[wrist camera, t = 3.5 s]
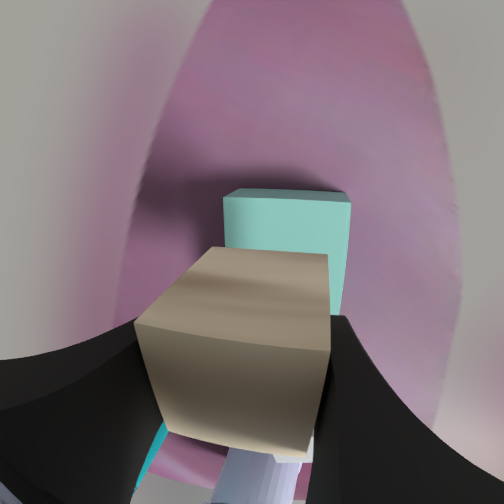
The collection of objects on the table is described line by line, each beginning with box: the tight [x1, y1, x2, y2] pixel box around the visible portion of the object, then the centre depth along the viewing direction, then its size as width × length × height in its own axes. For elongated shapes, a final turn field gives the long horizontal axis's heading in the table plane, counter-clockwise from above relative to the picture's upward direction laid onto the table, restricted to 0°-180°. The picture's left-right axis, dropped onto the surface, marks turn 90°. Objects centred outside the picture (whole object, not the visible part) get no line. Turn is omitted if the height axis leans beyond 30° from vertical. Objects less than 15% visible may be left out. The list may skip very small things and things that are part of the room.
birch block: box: [134, 247, 331, 458], centre depth 8 cm, size 4×4×5 cm
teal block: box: [223, 188, 351, 315], centre depth 15 cm, size 6×6×3 cm
